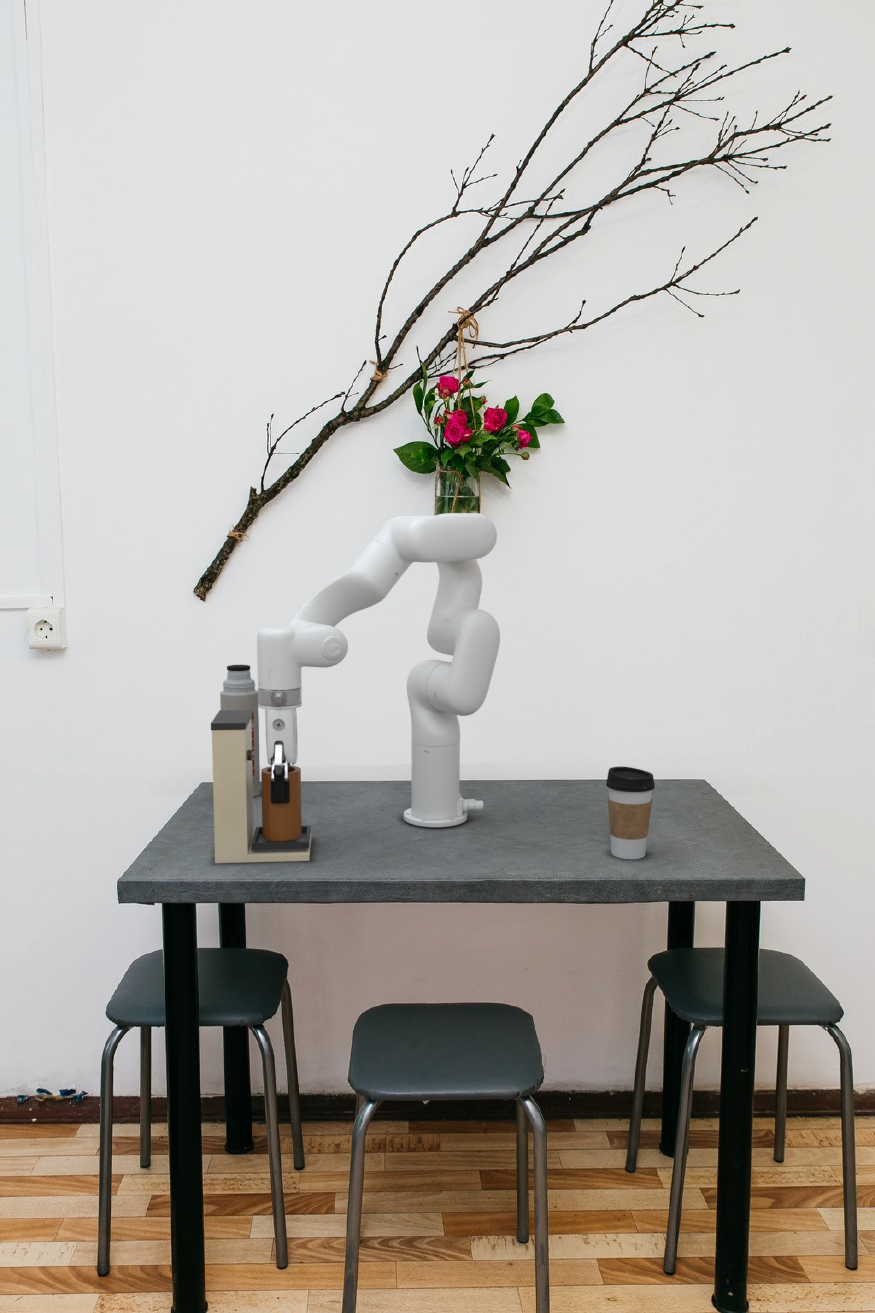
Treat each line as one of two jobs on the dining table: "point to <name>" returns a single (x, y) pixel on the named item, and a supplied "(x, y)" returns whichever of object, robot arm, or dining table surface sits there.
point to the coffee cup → (629, 810)
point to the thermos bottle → (244, 697)
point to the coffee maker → (242, 798)
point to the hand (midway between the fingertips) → (281, 796)
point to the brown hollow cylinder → (281, 808)
